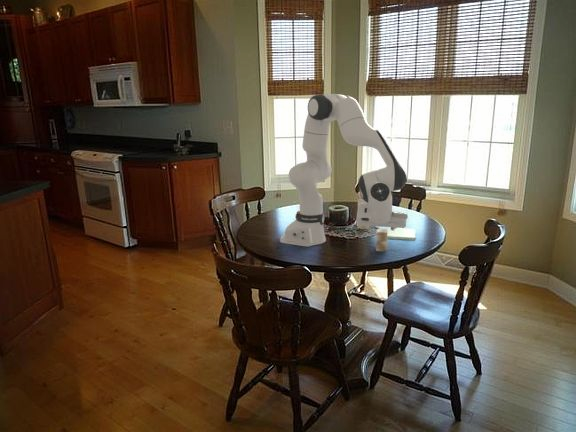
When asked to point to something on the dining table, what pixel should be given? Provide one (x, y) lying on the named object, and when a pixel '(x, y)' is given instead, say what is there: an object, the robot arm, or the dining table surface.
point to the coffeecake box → (360, 201)
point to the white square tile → (401, 233)
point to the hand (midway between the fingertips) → (381, 228)
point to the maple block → (381, 240)
